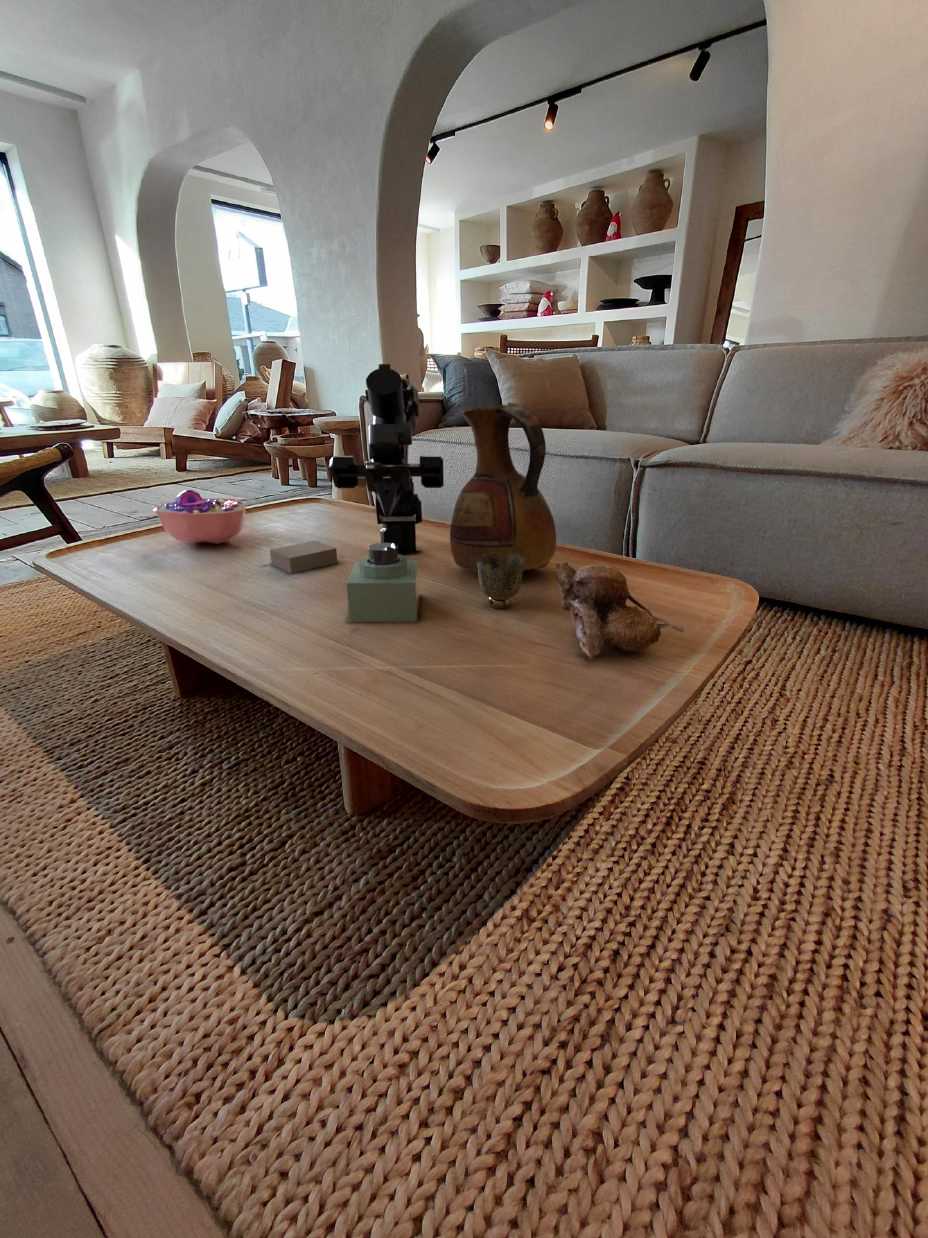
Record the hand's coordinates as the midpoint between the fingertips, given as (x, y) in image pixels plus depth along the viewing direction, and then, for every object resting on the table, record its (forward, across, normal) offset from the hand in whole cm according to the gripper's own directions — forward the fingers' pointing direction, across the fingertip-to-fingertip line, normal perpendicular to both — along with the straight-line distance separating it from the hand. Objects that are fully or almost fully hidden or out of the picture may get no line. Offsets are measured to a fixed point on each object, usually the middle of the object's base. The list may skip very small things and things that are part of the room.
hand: (386, 514), depth 94 cm
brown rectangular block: (-2, -18, +20) cm, 27 cm away
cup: (+15, +18, +4) cm, 24 cm away
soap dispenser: (+15, 0, +3) cm, 16 cm away
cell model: (-14, -43, +32) cm, 55 cm away
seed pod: (+26, +31, -7) cm, 41 cm away
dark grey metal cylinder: (+10, 0, -2) cm, 10 cm away
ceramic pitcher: (+2, +20, +17) cm, 27 cm away
